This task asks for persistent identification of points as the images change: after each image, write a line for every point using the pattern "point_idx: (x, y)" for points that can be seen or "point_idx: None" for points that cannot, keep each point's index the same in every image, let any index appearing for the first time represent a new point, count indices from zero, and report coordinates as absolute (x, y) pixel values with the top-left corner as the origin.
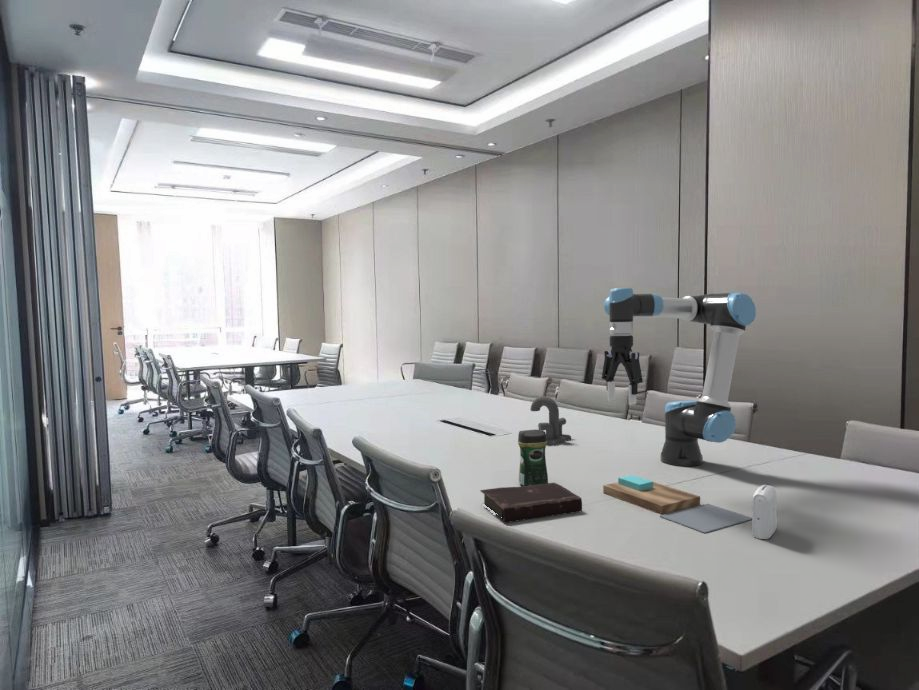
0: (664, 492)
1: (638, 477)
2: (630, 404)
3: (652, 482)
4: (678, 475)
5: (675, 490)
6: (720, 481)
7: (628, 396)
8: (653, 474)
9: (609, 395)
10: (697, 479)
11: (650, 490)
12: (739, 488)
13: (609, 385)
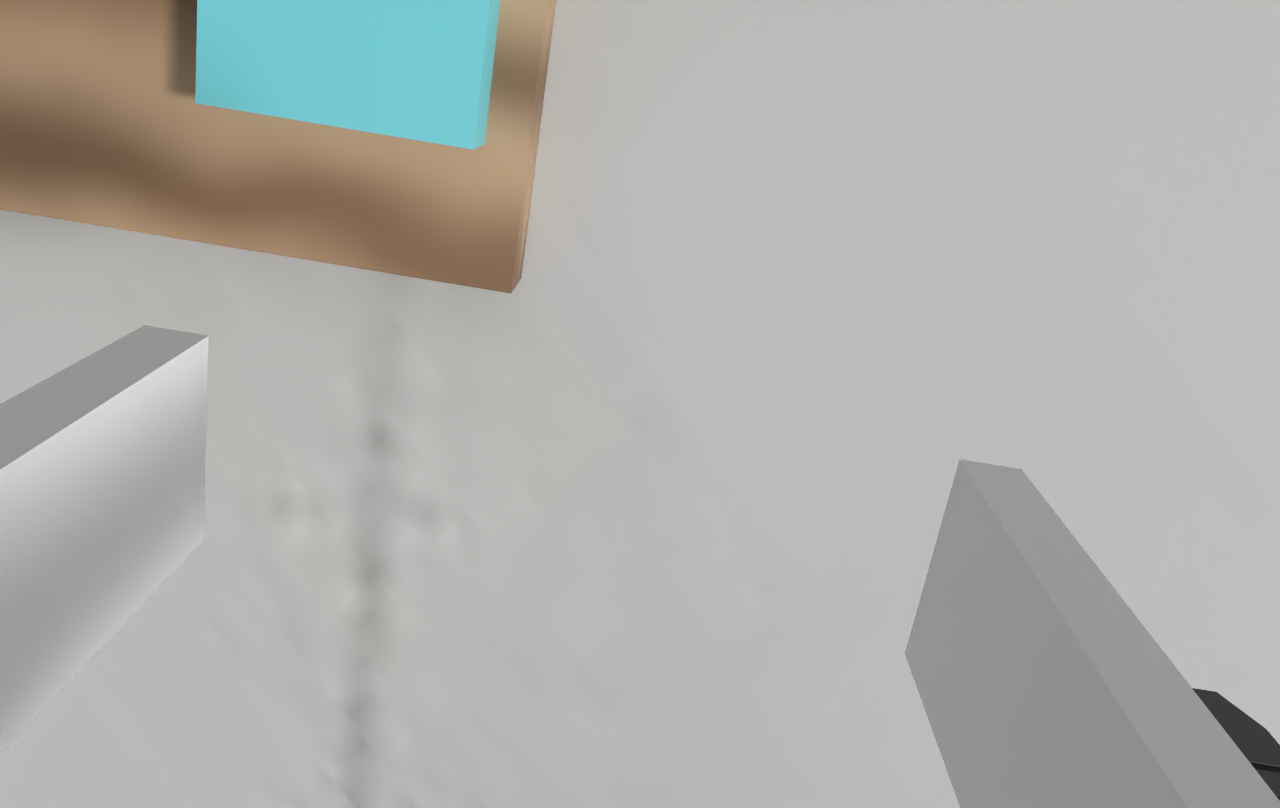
0: (67, 50)
1: (377, 121)
2: (137, 337)
3: (197, 91)
4: (495, 720)
5: (59, 179)
6: (206, 782)
7: (91, 414)
8: (643, 618)
9: (1000, 543)
10: (337, 722)
11: (179, 6)
12: None
13: (1137, 767)
